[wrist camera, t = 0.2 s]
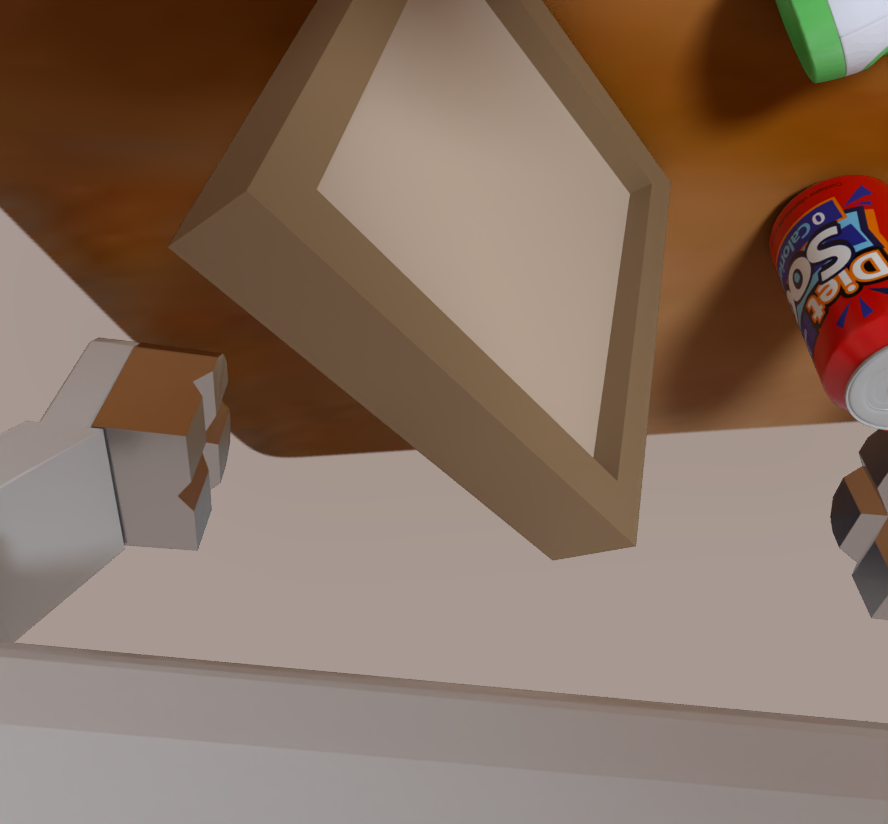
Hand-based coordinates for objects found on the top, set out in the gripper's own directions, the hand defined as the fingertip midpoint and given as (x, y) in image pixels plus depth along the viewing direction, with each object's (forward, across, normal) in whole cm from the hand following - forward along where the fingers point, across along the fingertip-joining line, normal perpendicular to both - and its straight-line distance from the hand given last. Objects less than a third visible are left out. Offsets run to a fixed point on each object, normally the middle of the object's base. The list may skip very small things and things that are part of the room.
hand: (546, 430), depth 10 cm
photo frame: (+40, 0, +10) cm, 42 cm away
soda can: (+41, -24, +14) cm, 49 cm away
